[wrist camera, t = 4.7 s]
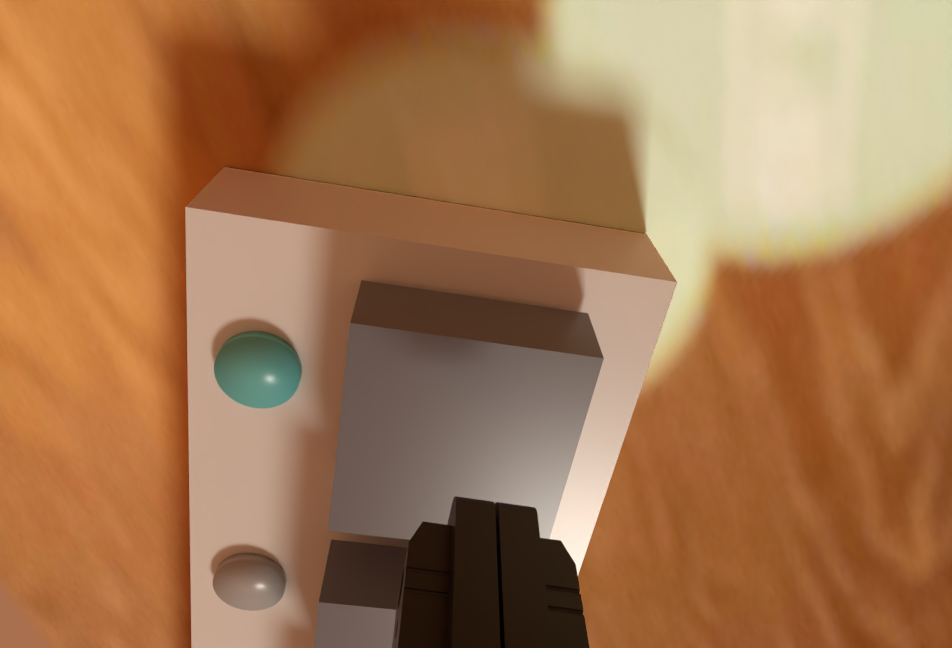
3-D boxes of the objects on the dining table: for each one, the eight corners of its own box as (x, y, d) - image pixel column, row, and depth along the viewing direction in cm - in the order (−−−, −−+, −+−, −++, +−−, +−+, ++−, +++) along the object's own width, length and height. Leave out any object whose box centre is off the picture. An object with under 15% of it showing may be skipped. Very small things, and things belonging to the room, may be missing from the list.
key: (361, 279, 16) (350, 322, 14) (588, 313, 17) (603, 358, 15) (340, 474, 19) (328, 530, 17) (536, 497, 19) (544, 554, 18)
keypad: (224, 166, 18) (180, 212, 15) (646, 234, 19) (680, 287, 16) (217, 711, 28) (190, 800, 25) (493, 734, 30) (498, 821, 27)
